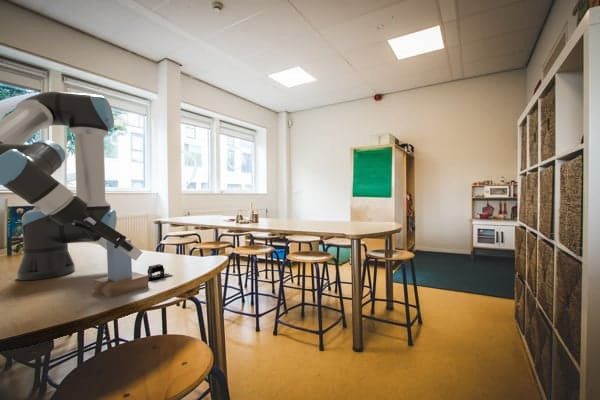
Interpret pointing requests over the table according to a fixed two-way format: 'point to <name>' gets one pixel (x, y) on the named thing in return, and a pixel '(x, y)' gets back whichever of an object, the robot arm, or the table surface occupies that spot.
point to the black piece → (160, 269)
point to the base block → (120, 285)
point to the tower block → (118, 263)
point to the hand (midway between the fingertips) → (127, 253)
